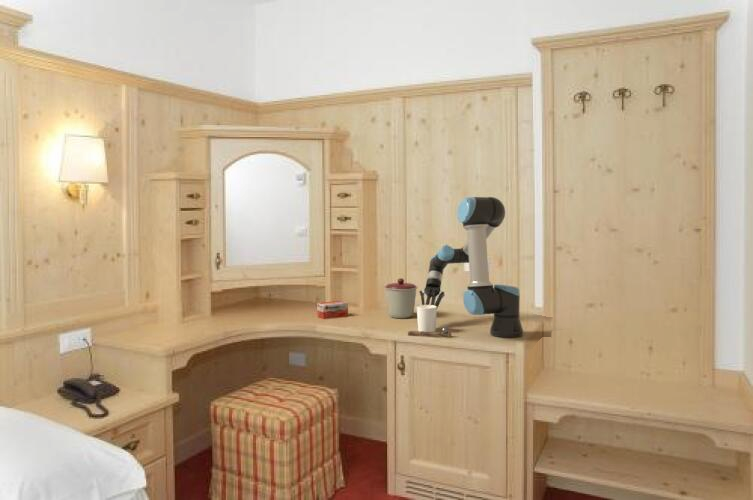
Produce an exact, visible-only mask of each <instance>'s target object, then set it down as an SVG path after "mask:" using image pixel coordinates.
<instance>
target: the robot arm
mask: <svg viewBox="0 0 753 500" xmlns="http://www.w3.org/2000/svg"><path fill="white" fill-rule="evenodd" d="M456 215H457V220H458V222H459V223H461V224H462V226H463V229H464V230H465V231H466V236H467V238H466V239H467V240H466V242H465V243H464V245H463V246H462V247H461V248H453V247H452V246H450V245H447V244H446V245H443V246H442V247H440V249H439V250H438V251H437V253H436V254H435V255H432V256H431V257H430V261H429V267H428V272H427V277H426V283H425V286H424V287H425V288H424V290H419V295H420V300H421V305H434V306H437V309H438V308H439V305H441V304H440V303H441V301H442V299H443V297H444V296H445V292H444V291H442V290H441V287H442V286H441V285H442V280H443V276H444V274H443V273H444V270H445V268H446V267H447V266H448V265H449V264H451V265H452V264H469V265H468V266H469V267H468V268H469V284H468V285H467V289H466V290H465V291H464V292H463V297H462V301H463V305H464V308H465V310H466V311H467V312H468V314H470V315H473V316H477V315H478V316H483V315H490V314H491V315H492V314H493V319H492V323H491V325H490V329H489V335H491V336H494V337H497V338H498V337H499V338H519V336H520V335H522V334H523V335H524V329H523V326H522V323H521V320H520V297H521V296H520V289H519V287H517V286H513V285H506V284H494V285H493V283H492V282H491V281H490V273H489V270H490V269H489V261H488V260H489V258H488V245H487V239H488V238H489V237H490V236H491V235H492V232H493V231H494V230H495V229H496V228H498V227H500V226H501V224H502V223H503V222H504V219H505V217H506V209H505V205H504V204H503V202H502V201H501V200H500V199H499V198H496V197H492V196H487V197H485V196H481V197H480V196H470V197H465V198H463V199H461V201H460V202H459V204H458V207H457V210H456ZM425 295H426V302H425ZM436 297H437V298H436ZM523 335H522V336H523ZM520 337H521V336H520Z"/></svg>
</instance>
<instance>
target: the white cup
mask: <svg viewBox="0 0 753 500" xmlns="http://www.w3.org/2000/svg"><path fill="white" fill-rule="evenodd" d="M434 305H435V304H434ZM434 305H431V304H429V305H426V304H425V305H422V304H419V305H417V306H416V318H417V321H416V322H417V330H418V331H424V332H436V328H437V325H436V323H437V311H438V308H437V306H434Z"/></svg>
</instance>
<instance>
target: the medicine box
mask: <svg viewBox="0 0 753 500" xmlns="http://www.w3.org/2000/svg"><path fill="white" fill-rule="evenodd" d="M348 303H349V302H348V301H347V302H346V301H343V300H332V301H325V302H324V301H323V302H317V306H316V309H317V310H316V311H317V312H316V313H317V317H318V318H319V319H323V320H329V319H338V318H346V317H349V304H348Z"/></svg>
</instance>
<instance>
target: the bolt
mask: <svg viewBox="0 0 753 500" xmlns="http://www.w3.org/2000/svg"><path fill="white" fill-rule="evenodd" d="M441 329H442V330H441V332H442V333H443V334H448V333H449V327H448V326H447V327H446V326H445V327H442V328H441Z"/></svg>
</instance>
